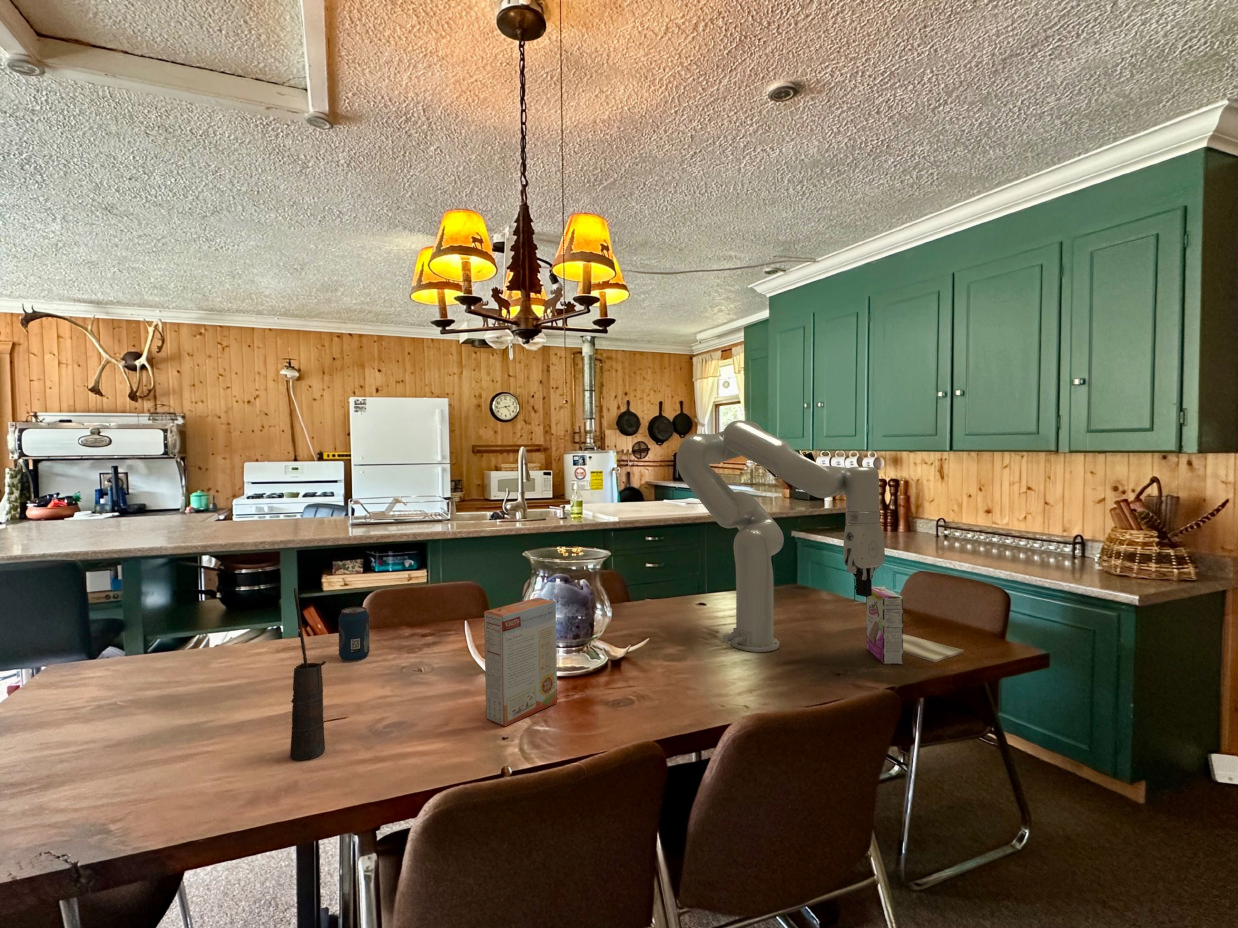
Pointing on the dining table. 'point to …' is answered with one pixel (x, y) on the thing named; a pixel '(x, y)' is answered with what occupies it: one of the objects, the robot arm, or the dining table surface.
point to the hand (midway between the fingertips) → (863, 595)
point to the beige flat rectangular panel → (928, 649)
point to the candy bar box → (885, 625)
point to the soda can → (354, 634)
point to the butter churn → (307, 705)
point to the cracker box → (520, 660)
